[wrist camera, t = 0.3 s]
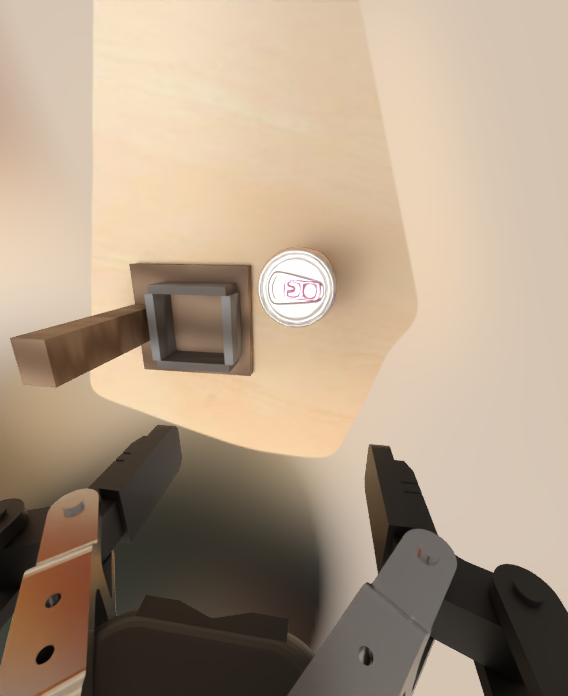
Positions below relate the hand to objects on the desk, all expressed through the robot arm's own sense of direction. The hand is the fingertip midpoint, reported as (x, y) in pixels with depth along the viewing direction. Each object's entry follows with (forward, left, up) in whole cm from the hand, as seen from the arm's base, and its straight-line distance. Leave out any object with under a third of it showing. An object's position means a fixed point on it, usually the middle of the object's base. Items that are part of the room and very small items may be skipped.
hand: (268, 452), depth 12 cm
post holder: (+1, -15, -26) cm, 30 cm away
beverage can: (-5, 0, -27) cm, 27 cm away
